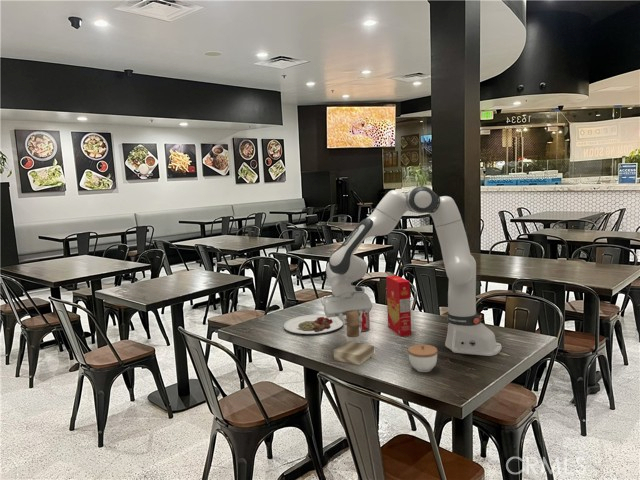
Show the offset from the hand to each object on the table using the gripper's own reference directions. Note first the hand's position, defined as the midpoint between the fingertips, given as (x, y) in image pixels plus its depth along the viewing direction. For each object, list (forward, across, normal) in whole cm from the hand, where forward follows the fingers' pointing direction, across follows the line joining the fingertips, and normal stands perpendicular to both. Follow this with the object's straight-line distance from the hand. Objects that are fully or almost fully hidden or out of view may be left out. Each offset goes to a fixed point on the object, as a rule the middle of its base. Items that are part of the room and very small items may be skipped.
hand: (353, 322), depth 192 cm
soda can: (-12, +17, +33) cm, 39 cm away
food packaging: (-5, +32, +26) cm, 41 cm away
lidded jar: (+26, +19, -5) cm, 32 cm away
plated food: (-22, -3, +44) cm, 50 cm away
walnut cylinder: (+3, 0, +4) cm, 5 cm away
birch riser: (+10, 0, +11) cm, 15 cm away
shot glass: (0, +6, +21) cm, 22 cm away
